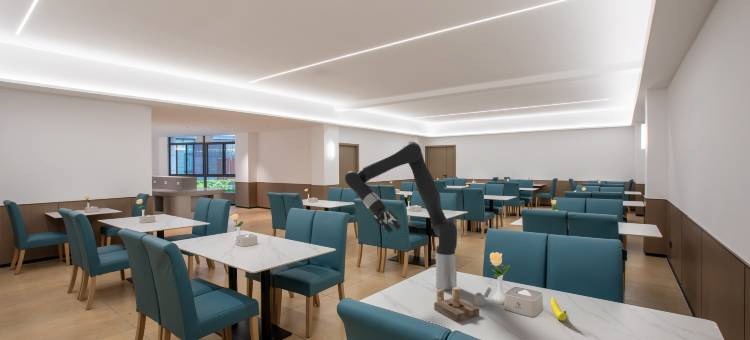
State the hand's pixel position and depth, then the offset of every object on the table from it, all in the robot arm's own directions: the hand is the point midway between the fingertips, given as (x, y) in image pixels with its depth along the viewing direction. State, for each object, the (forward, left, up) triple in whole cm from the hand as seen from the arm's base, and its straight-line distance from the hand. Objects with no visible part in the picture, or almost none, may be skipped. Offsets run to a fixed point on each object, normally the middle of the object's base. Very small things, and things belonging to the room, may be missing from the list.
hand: (395, 230), depth 173 cm
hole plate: (-11, +29, -31) cm, 44 cm away
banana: (-43, +53, -31) cm, 75 cm away
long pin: (-11, +29, -31) cm, 44 cm away
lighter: (-26, +29, -31) cm, 50 cm away
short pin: (-14, +15, -31) cm, 37 cm away
